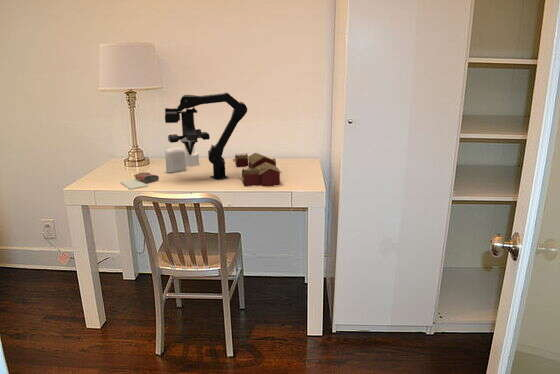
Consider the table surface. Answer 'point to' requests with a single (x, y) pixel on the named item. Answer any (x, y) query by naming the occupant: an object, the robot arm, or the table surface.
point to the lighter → (146, 177)
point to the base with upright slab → (191, 158)
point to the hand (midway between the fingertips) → (190, 154)
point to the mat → (134, 184)
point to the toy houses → (258, 170)
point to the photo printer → (175, 160)
